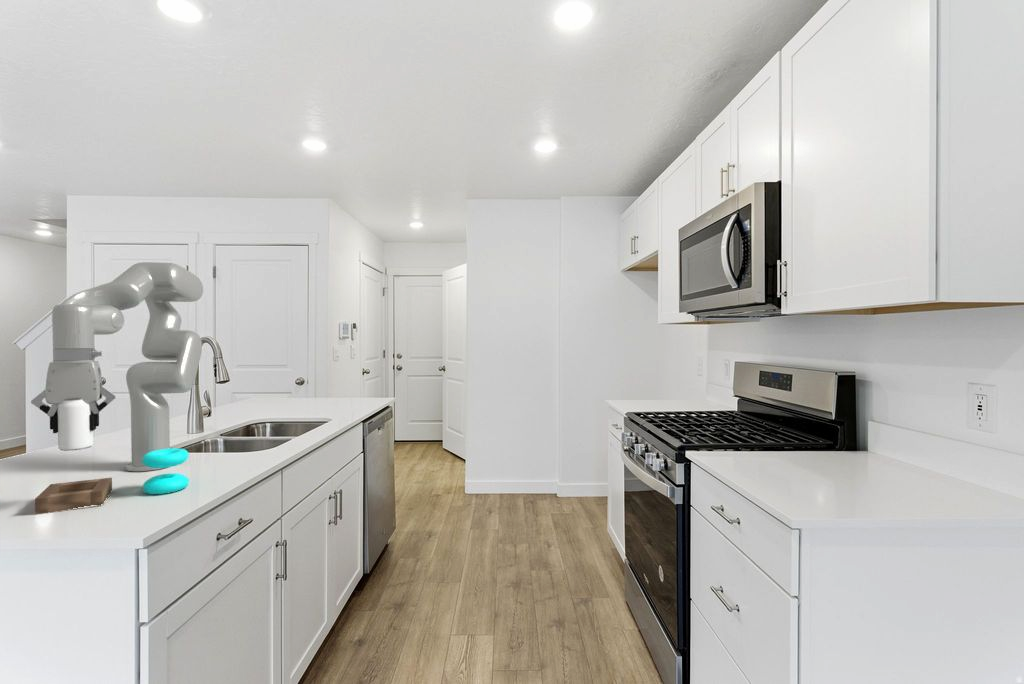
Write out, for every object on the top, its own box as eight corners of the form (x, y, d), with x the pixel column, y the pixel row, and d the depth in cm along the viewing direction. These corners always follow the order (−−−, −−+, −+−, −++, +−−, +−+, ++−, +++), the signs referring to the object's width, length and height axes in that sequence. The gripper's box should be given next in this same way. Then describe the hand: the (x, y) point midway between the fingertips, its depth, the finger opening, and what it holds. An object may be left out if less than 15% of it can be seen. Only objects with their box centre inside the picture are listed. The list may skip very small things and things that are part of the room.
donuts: (183, 454, 131) (136, 457, 127) (184, 493, 131) (137, 498, 128) (192, 446, 140) (148, 448, 137) (192, 482, 141) (149, 486, 137)
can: (71, 444, 127) (71, 396, 127) (99, 444, 128) (99, 396, 127) (50, 451, 121) (49, 400, 120) (80, 450, 121) (79, 399, 121)
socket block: (112, 490, 133) (111, 477, 133) (102, 505, 122) (102, 491, 122) (50, 498, 127) (50, 484, 127) (35, 514, 116) (34, 499, 116)
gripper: (121, 354, 131) (122, 425, 132) (30, 356, 123) (32, 431, 123) (116, 356, 125) (117, 430, 125) (20, 357, 116) (21, 437, 117)
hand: (75, 430), depth 124 cm, fingers closed on can, 6 cm apart
